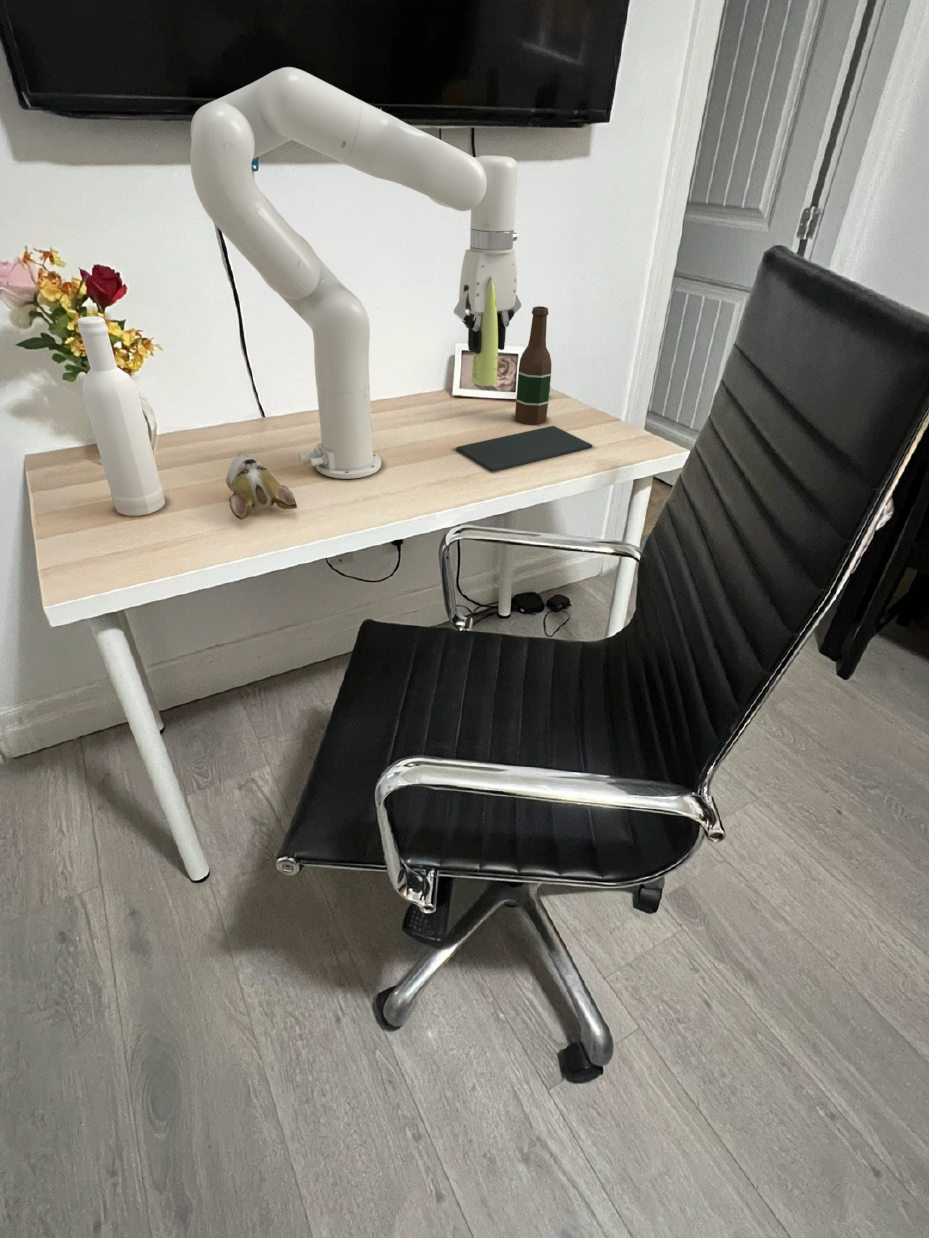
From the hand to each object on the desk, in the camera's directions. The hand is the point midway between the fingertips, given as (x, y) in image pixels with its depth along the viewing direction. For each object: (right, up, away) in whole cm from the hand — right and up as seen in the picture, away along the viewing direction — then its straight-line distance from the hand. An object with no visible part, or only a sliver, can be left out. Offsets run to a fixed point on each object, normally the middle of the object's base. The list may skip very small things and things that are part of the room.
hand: (486, 349), depth 130 cm
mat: (+9, -15, +14) cm, 22 cm away
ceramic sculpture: (-40, -32, -11) cm, 52 cm away
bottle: (-59, -32, -13) cm, 69 cm away
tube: (0, -5, +4) cm, 7 cm away
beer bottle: (+11, -5, +29) cm, 31 cm away
